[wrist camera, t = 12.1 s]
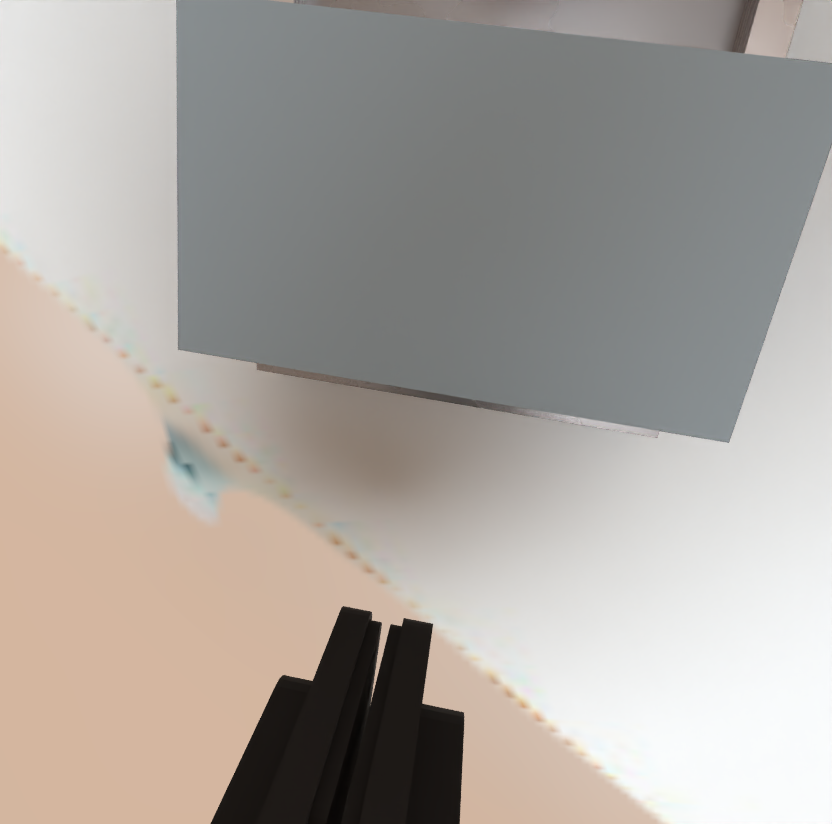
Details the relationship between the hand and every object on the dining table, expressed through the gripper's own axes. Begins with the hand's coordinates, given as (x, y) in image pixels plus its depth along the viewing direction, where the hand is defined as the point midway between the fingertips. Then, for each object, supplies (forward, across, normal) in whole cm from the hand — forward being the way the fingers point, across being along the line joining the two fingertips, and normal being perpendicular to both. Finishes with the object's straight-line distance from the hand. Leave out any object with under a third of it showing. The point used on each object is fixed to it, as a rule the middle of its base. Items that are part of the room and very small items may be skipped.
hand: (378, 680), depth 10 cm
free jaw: (+6, 0, -8) cm, 10 cm away
